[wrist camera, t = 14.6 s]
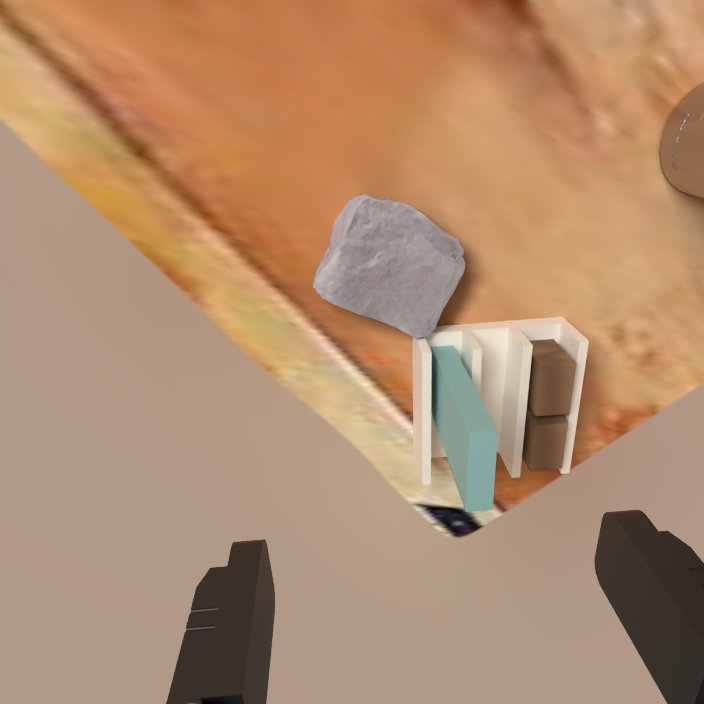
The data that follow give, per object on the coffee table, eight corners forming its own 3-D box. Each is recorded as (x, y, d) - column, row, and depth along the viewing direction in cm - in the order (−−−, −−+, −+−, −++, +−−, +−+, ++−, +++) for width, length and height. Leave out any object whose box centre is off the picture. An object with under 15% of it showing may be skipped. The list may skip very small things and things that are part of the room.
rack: (562, 316, 50) (589, 341, 45) (547, 440, 56) (569, 473, 51) (412, 327, 50) (422, 353, 45) (413, 450, 56) (422, 484, 51)
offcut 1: (553, 338, 49) (576, 363, 45) (548, 385, 51) (569, 413, 47) (521, 341, 49) (541, 365, 45) (517, 388, 51) (535, 416, 47)
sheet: (452, 345, 49) (498, 430, 36) (451, 409, 52) (492, 509, 39) (431, 346, 49) (469, 433, 36) (430, 411, 52) (465, 511, 39)
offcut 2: (546, 394, 52) (568, 423, 47) (541, 437, 54) (561, 468, 49) (516, 397, 52) (534, 425, 47) (512, 439, 54) (530, 470, 49)
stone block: (347, 181, 46) (304, 289, 47) (357, 179, 41) (309, 298, 43) (465, 235, 48) (421, 335, 50) (487, 238, 44) (437, 348, 46)
